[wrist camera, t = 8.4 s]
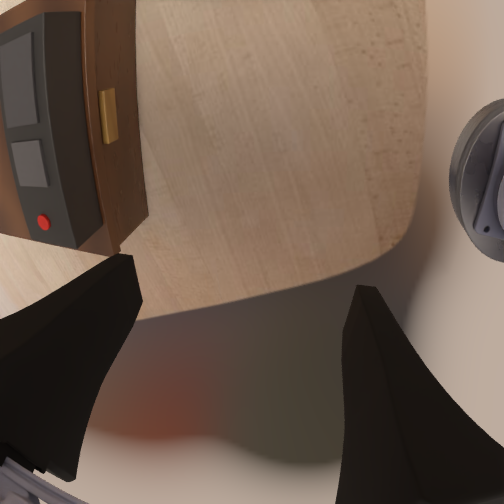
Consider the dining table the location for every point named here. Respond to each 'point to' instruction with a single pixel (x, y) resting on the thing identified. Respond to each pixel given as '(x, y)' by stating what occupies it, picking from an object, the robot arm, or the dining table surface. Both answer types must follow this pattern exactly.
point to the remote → (49, 128)
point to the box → (95, 120)
